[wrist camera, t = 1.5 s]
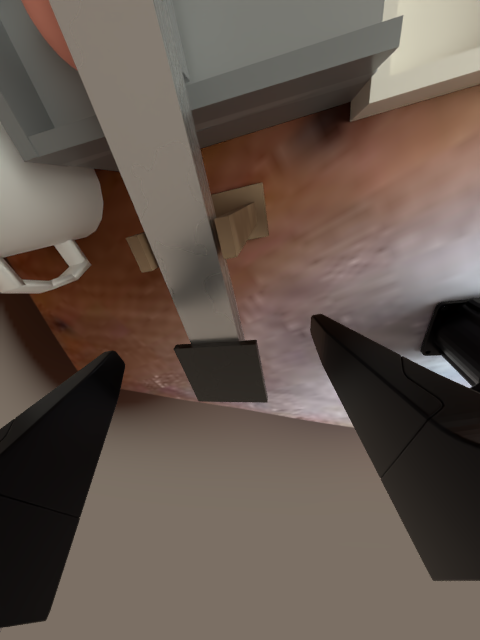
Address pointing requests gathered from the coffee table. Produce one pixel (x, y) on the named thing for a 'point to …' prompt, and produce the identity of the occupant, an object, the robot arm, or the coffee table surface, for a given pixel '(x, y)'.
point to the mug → (44, 215)
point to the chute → (201, 72)
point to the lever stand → (220, 224)
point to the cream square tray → (424, 55)
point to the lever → (165, 178)
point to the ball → (49, 27)
